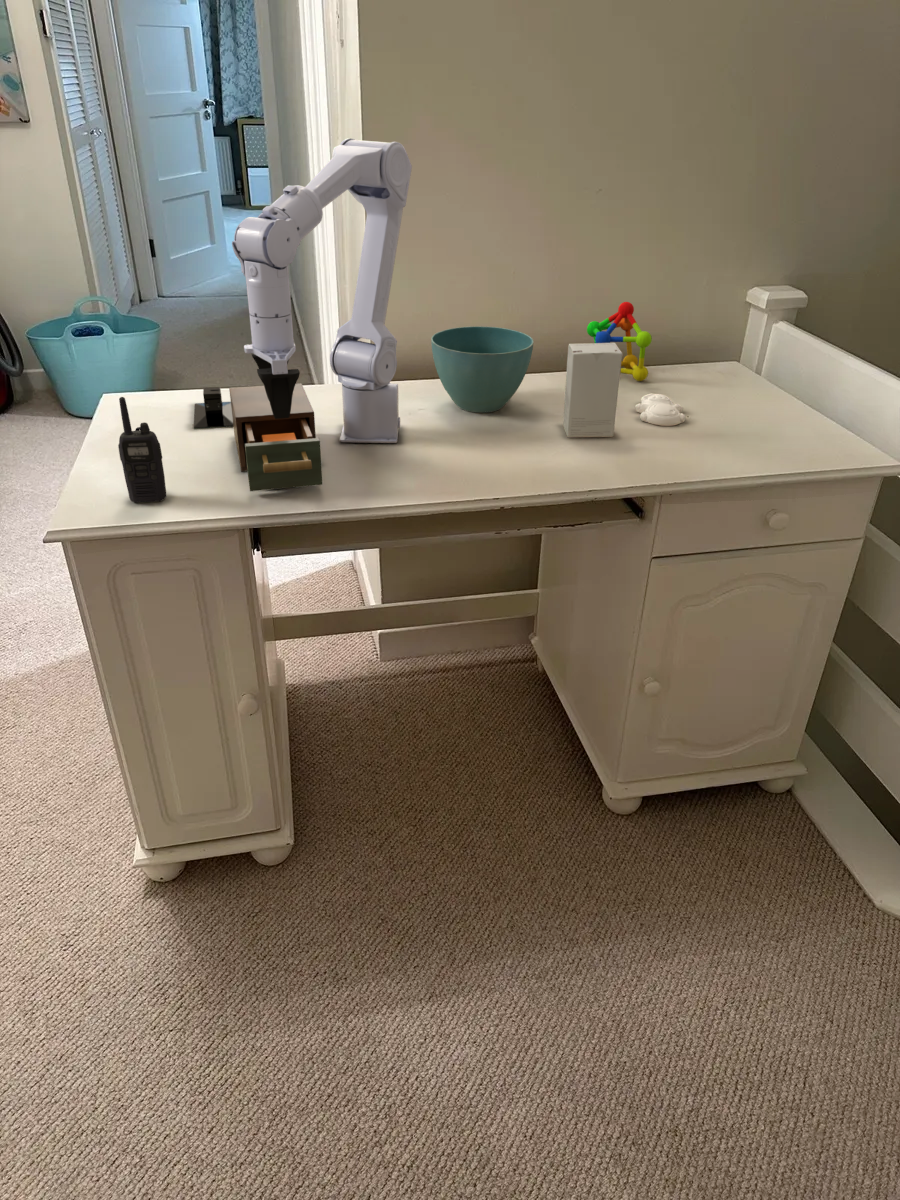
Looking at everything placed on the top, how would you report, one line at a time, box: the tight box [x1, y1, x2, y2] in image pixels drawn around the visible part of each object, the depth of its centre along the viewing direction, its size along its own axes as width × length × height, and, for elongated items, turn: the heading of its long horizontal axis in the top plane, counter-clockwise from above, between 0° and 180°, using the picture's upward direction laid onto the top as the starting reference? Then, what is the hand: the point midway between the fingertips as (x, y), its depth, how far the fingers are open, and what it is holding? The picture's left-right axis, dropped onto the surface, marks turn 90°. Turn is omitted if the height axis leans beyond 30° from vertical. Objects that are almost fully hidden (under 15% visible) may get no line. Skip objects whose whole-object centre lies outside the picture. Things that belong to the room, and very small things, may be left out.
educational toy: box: [586, 301, 653, 382], centre depth 173 cm, size 16×13×15 cm
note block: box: [262, 433, 297, 442], centre depth 127 cm, size 5×5×4 cm
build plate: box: [191, 386, 234, 430], centre depth 150 cm, size 12×7×5 cm, turn 13°
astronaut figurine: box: [634, 393, 686, 427], centre depth 157 cm, size 9×12×3 cm
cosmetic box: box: [562, 342, 623, 438], centre depth 145 cm, size 8×6×15 cm
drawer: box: [244, 418, 323, 492], centre depth 126 cm, size 18×10×7 cm, turn 16°
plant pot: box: [430, 325, 534, 414], centre depth 156 cm, size 18×18×12 cm
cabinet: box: [228, 382, 317, 473], centre depth 136 cm, size 14×12×9 cm
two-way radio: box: [117, 396, 167, 504], centre depth 119 cm, size 6×4×15 cm
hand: (278, 408), depth 125 cm, fingers open, 7 cm apart
